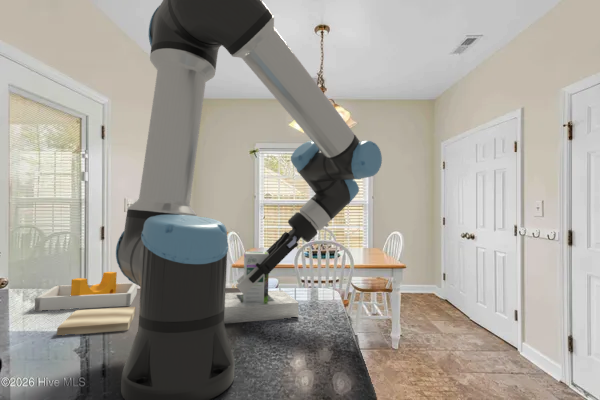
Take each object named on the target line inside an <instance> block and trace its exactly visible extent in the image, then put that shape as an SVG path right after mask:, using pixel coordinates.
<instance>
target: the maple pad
mask: <svg viewBox="0 0 600 400" xmlns="http://www.w3.org/2000/svg"><path fill="white" fill-rule="evenodd" d="M135 315H136V306H121V307H104V308H87V309H75V311H73V312H72V314H70V315H69V317H67V318H66V319H65V320H64V321H62V322H61V324H60V325H59V326H57V328H56V329H57V330H56V333H57V334H56V336H57V335H62V336H66V335H65V334H75V335H86V334H96V333H97V334H99V333H111V332H124V331H128V330H129V328H130V326H131V324H132V322H133V320H134V318H135Z"/></svg>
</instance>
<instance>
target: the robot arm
mask: <svg viewBox="0 0 600 400" xmlns="http://www.w3.org/2000/svg"><path fill="white" fill-rule="evenodd" d="M149 21H150V22H149V25H148V41H149V42H148V43H149V45H150V53H149V61H150V62H151V64H152V65H153V66H154V68H155V69H156V78H155V85H154V86H155V87H154V91H153V97H152V98H153V99H152V105H151V114H150V119H149V126H148V134H147V140H146V147H145V148H146V149H145V154H144V161H143V167H142V174H141V182H140V187H139V194H138V195H139V196H138V199H137V201H135V202H133V203H132V204H131V205H129V206H128V207H127V211H126V215H125V217H126V218H125V222H124V223H125V224H124V229H123V232H121V235H120V236H119V238H118V240H117V243H116V247H115V259H116V263H117V265H118V268H119V270H120V272H121V273H122V274H123V276H124V277H126V278H127V279H128V281H129V282H130V283H134V284H136V285H137V286H139V287H140V289H139V308H138V309H139V310H138V328H137V331H136V335H135V337H134V340H133V343H132V344H131V348H130V350H129V353H128V356H127V357H126V361H125V363H124V367H123V369H122V373H121V381H120V382H121V383H120V384H121V385H120V393H121V394H120V395H121V396H122V398H123V399H124V400H212V399H215V398H216V397H218V396H219V395H221V394H222V393H224V392H225V391H226V390H228V389H229V388H230V386H231V385H232V383H233V382H234V379H235V366H236V365H235V364H236V363H235V356H234V353H233V349H232V347H231V346H232V345H231V343H230V342H231V341H230V339H229V335H228V333H227V329H226V325H225V324H224V310H225V293H226V289H227V288H226V285H227V267H228V266H227V263H228V252H229V242H228V230H227V227H226V226H225V224H224V223H223V222H221V221H220V220H217V219H214V218H210V217H205V216H204V217H203V216H198V214H197V213H196V211H194V209H193V208H192V207H191V198H192V192H193V191H192V190H193V189H192V188H193V182H194V175H195V174H194V173H195V165H196V159H197V151H198V146H199V145H198V142H199V136H200V135H199V134H200V127H201V121H202V114H203V113H202V111H203V106H204V104H203V103H204V98H205V89H206V82H208V81H210V80H212V79H213V78H214V77H215V75H216V70H217V62H218V54H219V50H220V47H224V49H225V50H226V51H227V52H228V53H229V54H230V56H231V57H233V58H239V59H241V60H243V61H244V63H245V64H246V65H247V67H248V68H249V69H250V70H251V71H252V72H253V74H255V76H256V77H257V78H258V79H259V81H260V82H261V83H262V84H263V85H264V86H265V88H266V89H267V90H268V91H269V92H270V93H271V94H272V95H273V96H274V98H275V99H276V100H277V101H278V103H279V104H280V105H281V106H282V107H283V109H284V110H285V111H286V112H287V113H288V114H289V115H290V117H291V119H293V120H294V122H296V124H297V125H298V126H299V127H300V128H301V130H302V131H303V132H304V133H305V134H306V136H307V137H308V138H309V139H310V140H308V141H306V142H304V143H302V144H301V145H299V146H298V147H297V148H296V149H295V150H294V151H293V152H292V154H291V156H290V161H291V163H292V165H293V167H294V168H295V169H296V171H297V173H298V174H299V175H300V176H301V177H302V179H303V180H304V181H305V182H306V184H308V186H309V187H310V188H311V190H312V192H314V195H313V196H312V197H311V198H310V199H309V200H307V202H306V203H305V204H303V206H301V207H300V208H299V212H295V213H294V214H293V215H292V216H291V217H290V218H289V219H288V220H287V223H288V225H289V226H290V228H292V229H290V230H289V231H288V232H286V231H284V232H283V233H282V234H281V236H280V237H279V238H278V239H277V240H275V242H274V243H273V244H272V245H271V246H270V247H269V248H268V249H267V250H266V251H267V252H268V253H269V256H268V257H267V258H266V259H265V260H264V261H263V262H262V263H261V264H258V263H256V267H255V268H254V269H253V270H252V271H251V272H250V273H249V274H248V275H247V276H246V277H245V278H244V273H243V274H241V276H239V278H237V280H236V282H237V283H238V284H236V286H235V287H236V288H237V289H238V290H239V291H240V292H242V293H243V294H246V293H247V292H248V291H249V290H250V289H251V288H252V287H253V286H254V285H255V284H256V283H257V282H258V281H259V280H260V279H261V278H262V277H263V276H264V275H265V274H271V271H273V270H274V269H275V268H276V267H277V265H279V264H280V263H281V262H282V261H283V260H284V259H285V258H286V257H287V256H288V255H289V254H290V253H291V252H292V251H293V250H294V249H296V248H297V247H298V245H299V243H298V242H299V241H300V240H301V239H302V240H303V241H305V242H306V243H309V242H311V241H312V240H313V239H314V238H315V237H316V236H317V234H318V231H322V229H324V227H326V228H328V227H329V225H330V224H329V223H330V222H331V221H332V220H333V219H334V218H336V217H337V215H338V214H339V213H340V212H341V211H342V210H343V209H345V208H346V207H347V205H349V204H350V203H351V202H352V201H353V200H354V198H356V196H357V195H358V193H359V191H360V188H359V184H358V182H357V181H356V180H361V179H366V178H371V177H374V176H375V175H377V174H378V172H379V171H380V169H381V167H382V163H383V162H382V161H383V156H382V152H381V148H380V147H379V146H378V144H377V143H375V142H374V141H372V140H361V141H360V140H359V138H358V137H357V135H356V134H355V133H354V131H353V130H352V129H351V127H350V126H349V125H348V124H347V122H346V121H345V120H344V118H343V117H342V115H341V114H340V113H339V112H338V110H337V109H336V108H335V106H334V105H333V104H332V102H331V101H330V99H329V98H328V97H327V95H326V94H325V93H324V92H323V90H322V89H321V88H320V86H319V85H318V84H317V82H316V81H315V79H313V76H311V74H310V73H309V72H308V71H307V69H306V68H305V66H304V65H303V63H301V61H300V60H299V58H298V56H296V54H295V53H294V51H293V50H292V49H291V48H290V46H289V45H288V44H287V42H286V40H285V39H284V38H283V37H282V36H281V35H280V33H279V32H278V30H277V29H276V28H275V16H274V14H273V13H272V11H270V9H269V8H268V6H267V4H265V2H264V1H263V0H162V1H161V3H160V5H158V6H157V8H156V9H155V10H154V12H153V14H152V16H151V17H150V20H149Z"/></svg>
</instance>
